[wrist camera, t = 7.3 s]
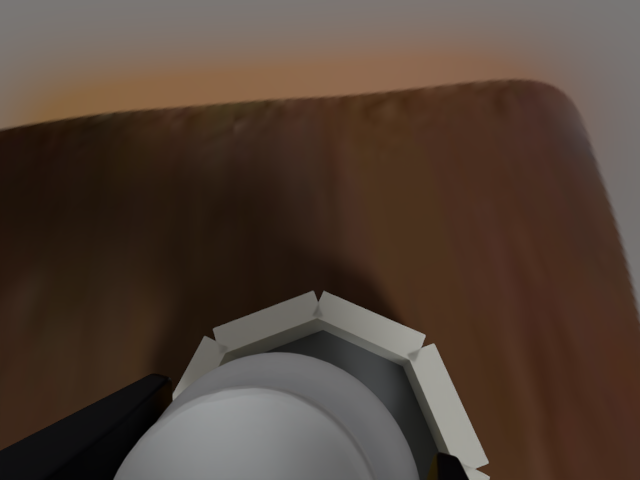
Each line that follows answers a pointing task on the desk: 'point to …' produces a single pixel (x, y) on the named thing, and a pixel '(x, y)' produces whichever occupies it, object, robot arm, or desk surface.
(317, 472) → the supplement bottle
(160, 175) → the desk surface
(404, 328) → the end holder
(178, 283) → the desk surface
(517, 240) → the desk surface
